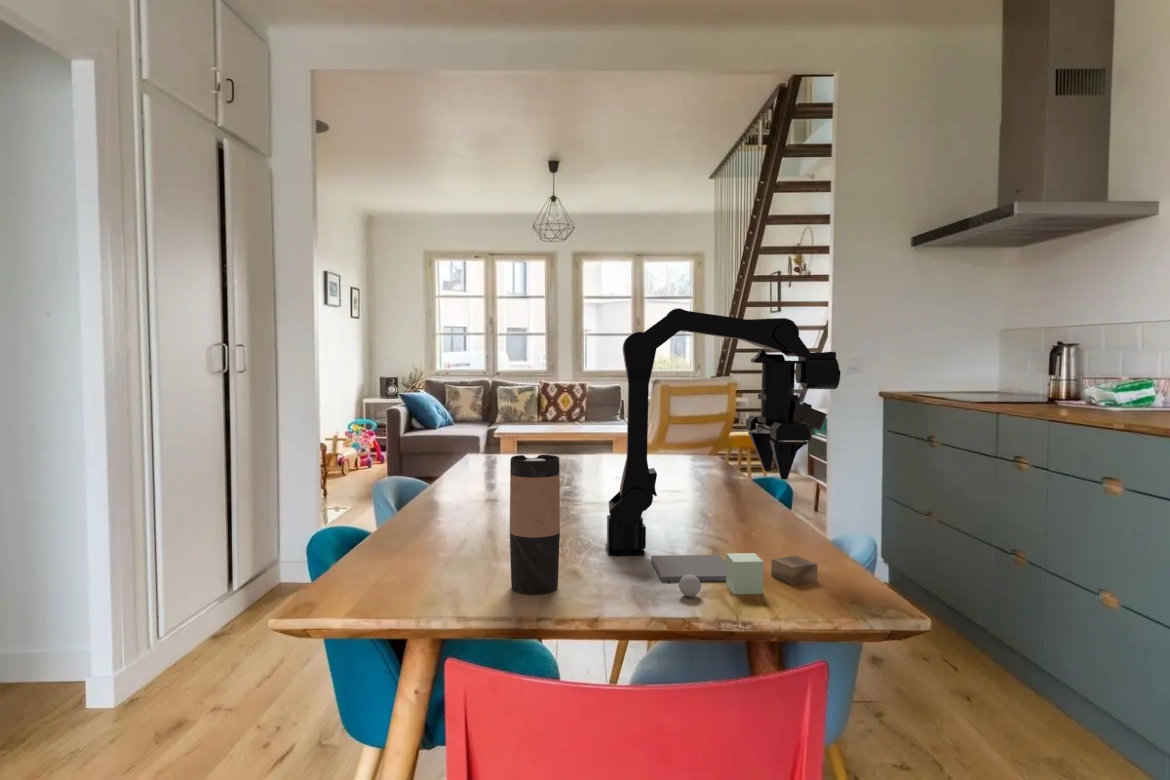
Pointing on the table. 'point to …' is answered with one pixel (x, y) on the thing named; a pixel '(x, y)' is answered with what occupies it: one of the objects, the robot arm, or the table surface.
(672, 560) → the plate
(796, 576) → the walnut block
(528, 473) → the travel mug
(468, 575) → the table surface
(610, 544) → the robot arm
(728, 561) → the sage block
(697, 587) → the grey ball
